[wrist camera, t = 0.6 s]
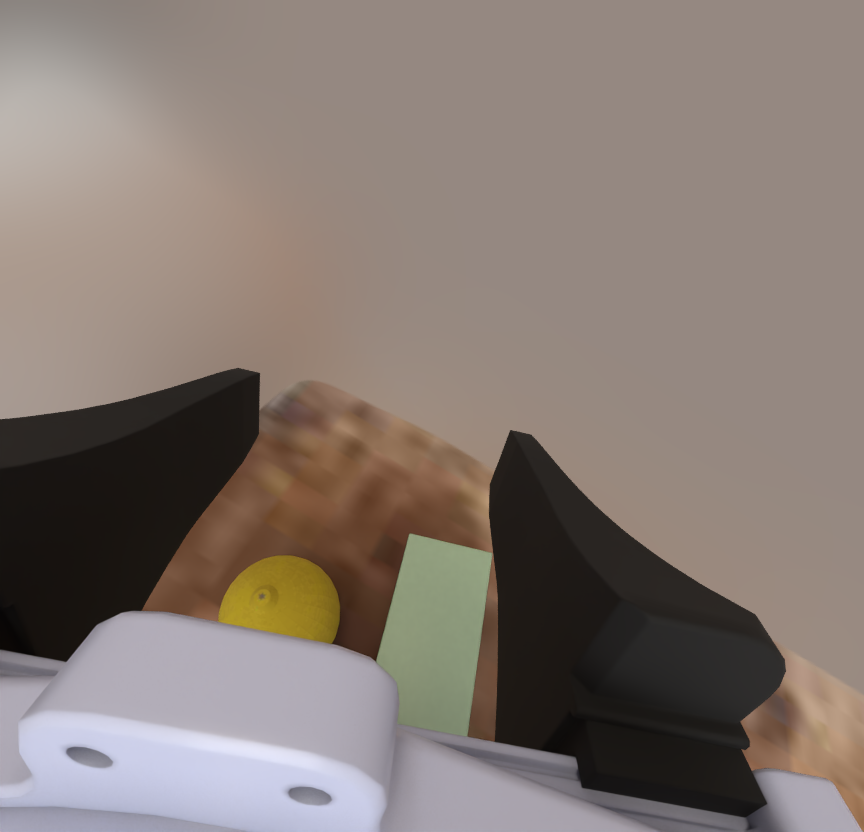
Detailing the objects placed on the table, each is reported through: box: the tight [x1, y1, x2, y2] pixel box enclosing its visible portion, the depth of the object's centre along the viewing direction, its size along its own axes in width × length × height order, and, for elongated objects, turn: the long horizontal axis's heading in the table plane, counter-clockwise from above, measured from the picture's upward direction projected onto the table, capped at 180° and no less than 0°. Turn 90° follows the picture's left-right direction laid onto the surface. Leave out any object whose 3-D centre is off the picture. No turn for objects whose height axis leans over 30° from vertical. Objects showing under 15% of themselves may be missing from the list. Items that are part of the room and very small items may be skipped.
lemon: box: [218, 555, 340, 644], centre depth 21 cm, size 6×6×8 cm
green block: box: [376, 533, 492, 737], centre depth 22 cm, size 14×5×3 cm, turn 167°
